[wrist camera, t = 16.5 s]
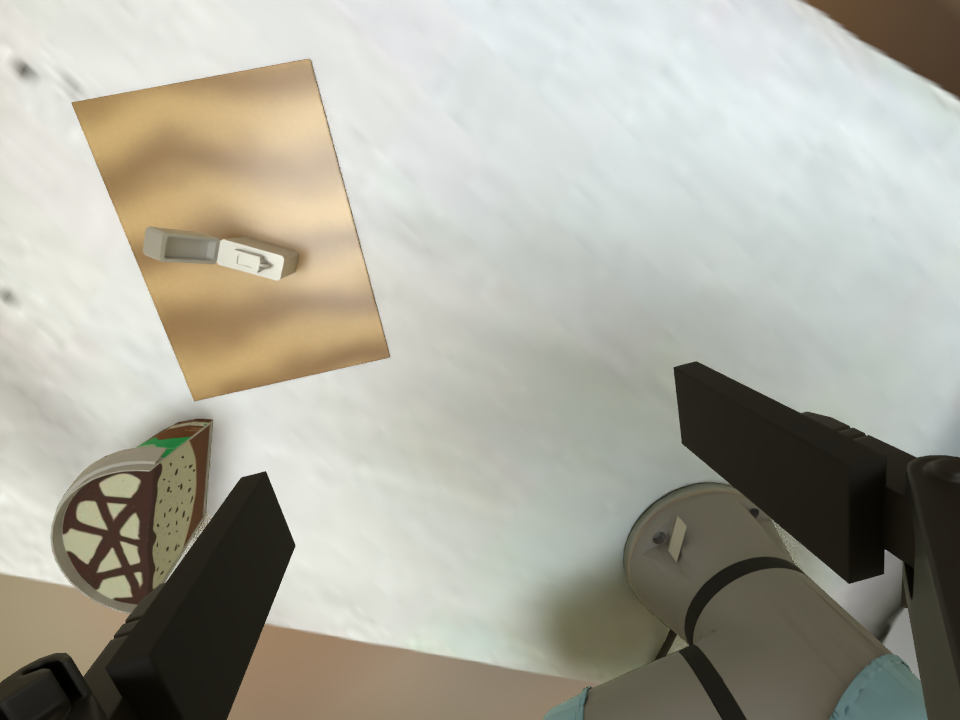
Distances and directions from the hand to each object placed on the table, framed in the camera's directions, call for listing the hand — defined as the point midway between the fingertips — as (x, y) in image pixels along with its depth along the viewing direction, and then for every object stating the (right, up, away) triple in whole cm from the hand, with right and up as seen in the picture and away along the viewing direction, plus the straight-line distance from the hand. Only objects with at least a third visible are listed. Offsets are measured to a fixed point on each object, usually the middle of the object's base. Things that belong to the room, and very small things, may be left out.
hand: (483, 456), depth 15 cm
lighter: (-17, +11, +21) cm, 30 cm away
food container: (-26, -6, +26) cm, 37 cm away
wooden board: (-18, +12, +21) cm, 30 cm away
